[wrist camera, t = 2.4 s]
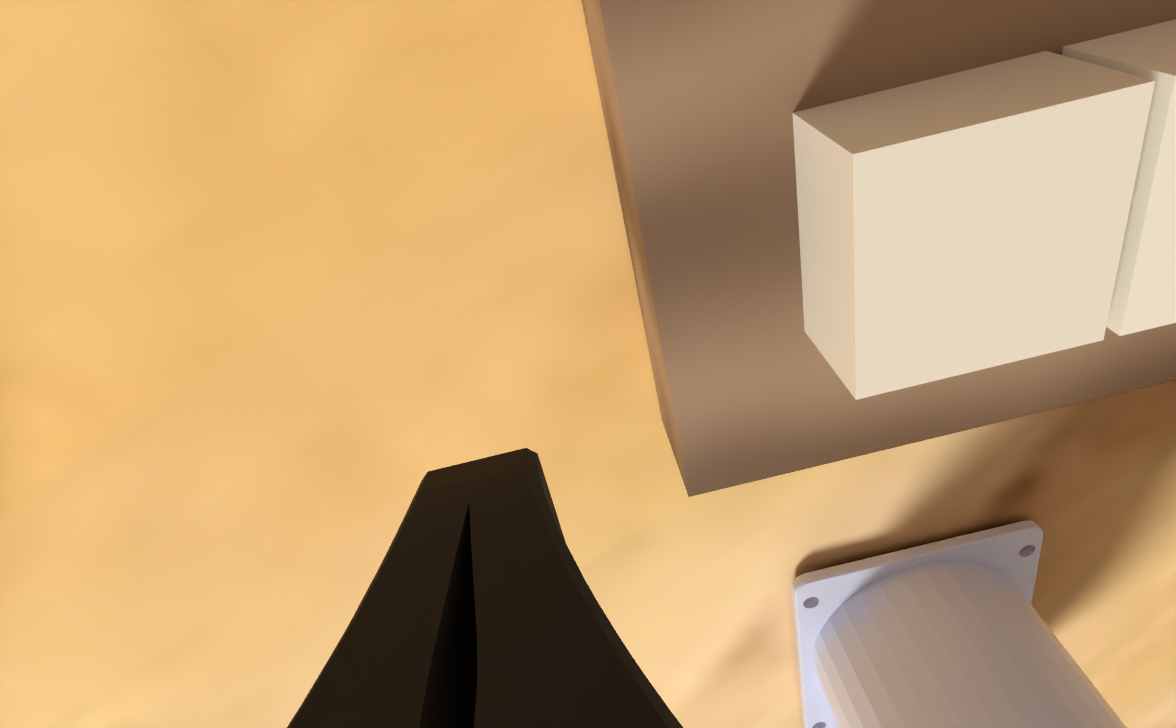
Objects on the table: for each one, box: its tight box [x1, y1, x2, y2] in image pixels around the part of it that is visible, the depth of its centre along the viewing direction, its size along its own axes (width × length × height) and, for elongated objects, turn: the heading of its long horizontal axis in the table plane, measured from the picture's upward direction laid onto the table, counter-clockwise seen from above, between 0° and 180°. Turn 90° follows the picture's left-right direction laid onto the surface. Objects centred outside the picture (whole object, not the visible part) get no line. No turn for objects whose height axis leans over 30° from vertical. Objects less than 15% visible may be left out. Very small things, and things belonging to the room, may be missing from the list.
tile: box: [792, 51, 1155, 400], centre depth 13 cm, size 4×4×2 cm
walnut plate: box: [582, 0, 1176, 497], centre depth 15 cm, size 12×14×3 cm
